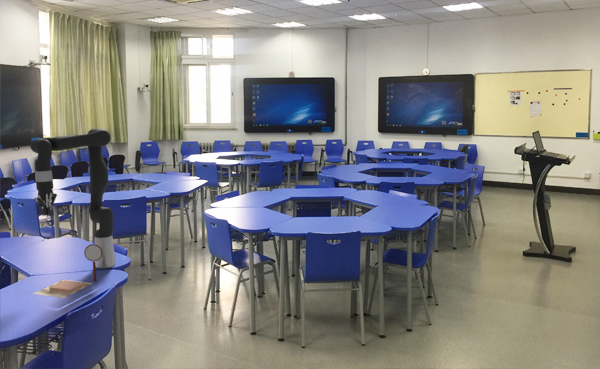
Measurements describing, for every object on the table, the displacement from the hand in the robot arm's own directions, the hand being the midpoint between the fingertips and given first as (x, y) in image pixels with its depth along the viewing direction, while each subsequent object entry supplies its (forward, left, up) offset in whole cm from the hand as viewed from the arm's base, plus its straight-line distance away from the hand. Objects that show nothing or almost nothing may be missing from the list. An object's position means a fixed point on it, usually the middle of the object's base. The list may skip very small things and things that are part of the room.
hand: (47, 214), depth 258 cm
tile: (+9, +10, -33) cm, 35 cm away
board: (+9, +14, -35) cm, 39 cm away
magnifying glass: (-4, +22, -35) cm, 42 cm away
